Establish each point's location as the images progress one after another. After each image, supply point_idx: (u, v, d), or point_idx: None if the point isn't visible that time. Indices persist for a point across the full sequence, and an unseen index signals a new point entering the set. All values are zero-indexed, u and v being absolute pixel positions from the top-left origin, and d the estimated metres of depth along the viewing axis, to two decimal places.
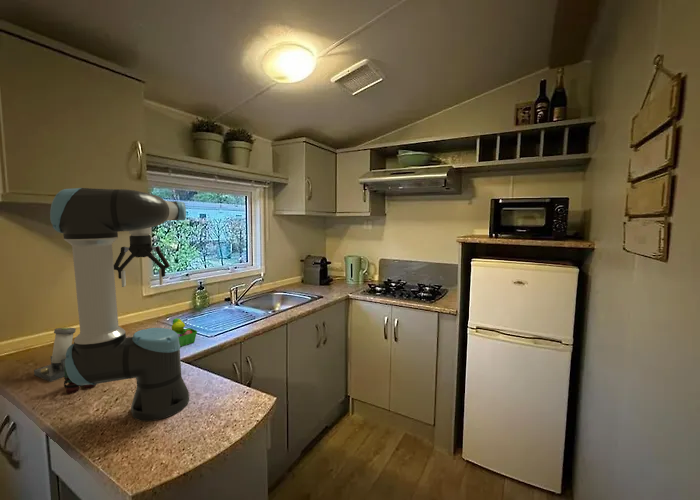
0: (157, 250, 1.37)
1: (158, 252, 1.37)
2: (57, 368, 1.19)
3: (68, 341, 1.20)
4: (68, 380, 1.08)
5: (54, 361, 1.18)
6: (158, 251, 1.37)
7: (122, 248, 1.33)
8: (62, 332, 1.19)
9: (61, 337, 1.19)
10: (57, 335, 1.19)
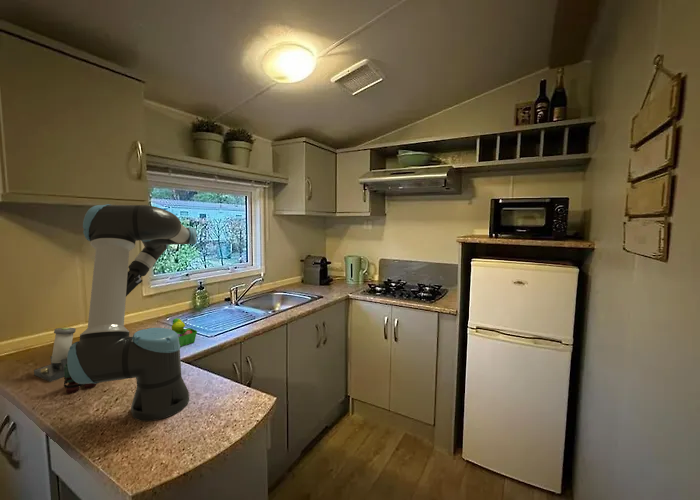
0: (134, 280, 1.38)
1: (132, 281, 1.38)
2: (57, 368, 1.19)
3: (68, 341, 1.20)
4: (68, 380, 1.08)
5: (54, 361, 1.18)
6: (133, 280, 1.38)
7: None
8: (62, 332, 1.19)
9: (61, 337, 1.19)
10: (57, 335, 1.19)
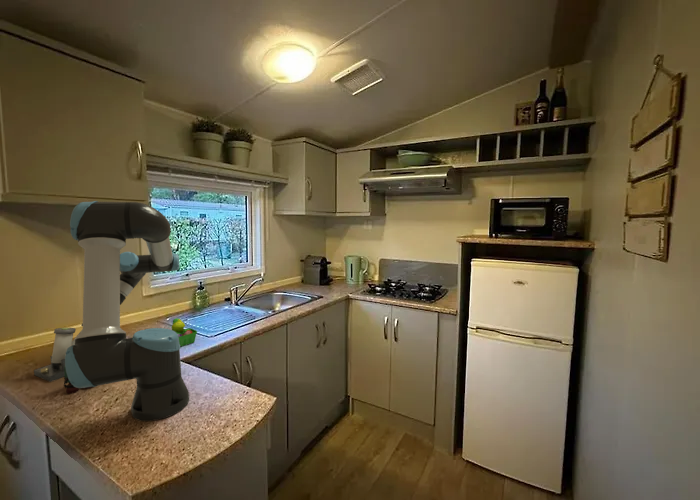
0: None
1: None
2: (57, 368, 1.19)
3: (68, 341, 1.20)
4: (68, 380, 1.08)
5: (54, 361, 1.18)
6: None
7: None
8: (62, 332, 1.19)
9: (61, 337, 1.19)
10: (57, 335, 1.19)
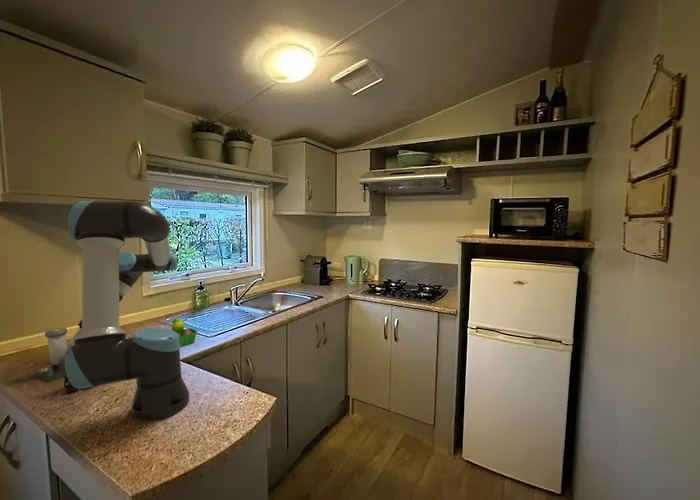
0: None
1: None
2: (57, 368, 1.19)
3: (62, 343, 1.19)
4: (68, 380, 1.08)
5: (53, 363, 1.18)
6: None
7: None
8: (53, 335, 1.16)
9: (54, 340, 1.17)
10: (49, 338, 1.17)
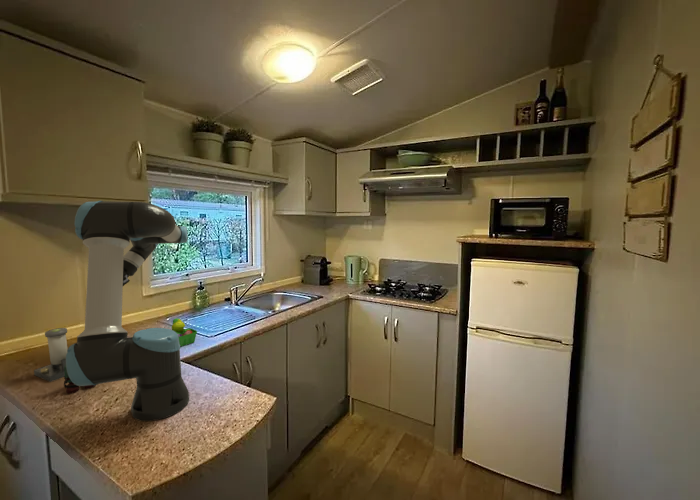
0: None
1: None
2: (57, 368, 1.19)
3: (62, 343, 1.19)
4: (68, 380, 1.08)
5: (53, 363, 1.18)
6: None
7: None
8: (53, 335, 1.16)
9: (54, 340, 1.17)
10: (49, 338, 1.17)
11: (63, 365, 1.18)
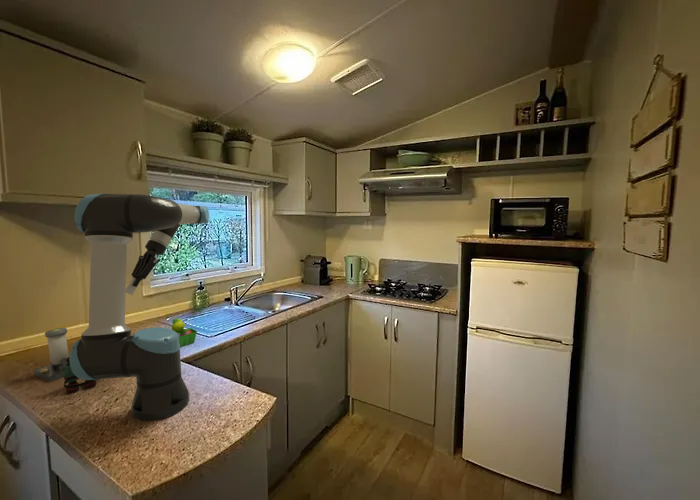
0: (151, 260, 1.36)
1: (149, 261, 1.36)
2: (57, 368, 1.19)
3: (62, 343, 1.19)
4: (68, 380, 1.08)
5: (53, 363, 1.18)
6: (150, 261, 1.36)
7: (140, 256, 1.42)
8: (53, 335, 1.16)
9: (54, 340, 1.17)
10: (49, 338, 1.17)
11: (63, 365, 1.18)
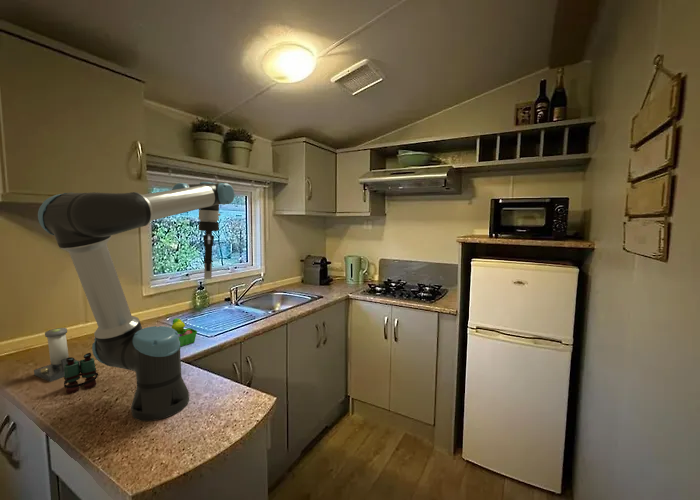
0: (205, 242, 1.29)
1: (205, 244, 1.29)
2: (57, 368, 1.19)
3: (62, 343, 1.19)
4: (68, 380, 1.08)
5: (53, 363, 1.18)
6: (205, 243, 1.29)
7: (205, 238, 1.38)
8: (53, 335, 1.16)
9: (54, 340, 1.17)
10: (49, 338, 1.17)
11: (63, 365, 1.18)
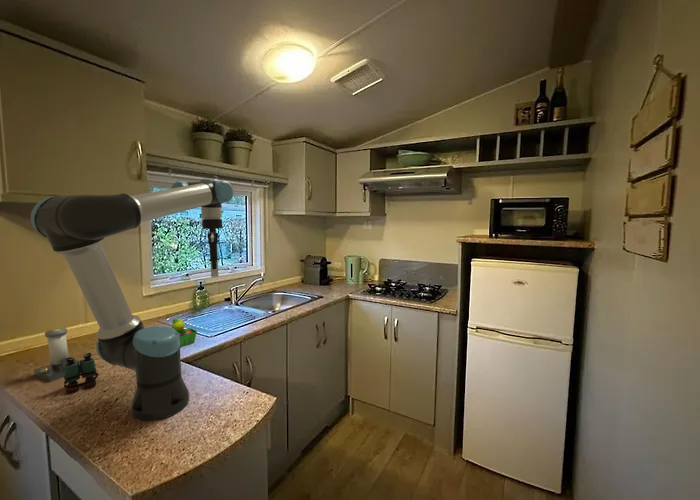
0: (209, 240, 1.27)
1: (209, 243, 1.27)
2: (57, 368, 1.19)
3: (62, 343, 1.19)
4: (68, 380, 1.08)
5: (53, 363, 1.18)
6: (209, 242, 1.27)
7: None
8: (53, 335, 1.16)
9: (54, 340, 1.17)
10: (49, 338, 1.17)
11: (63, 365, 1.18)
